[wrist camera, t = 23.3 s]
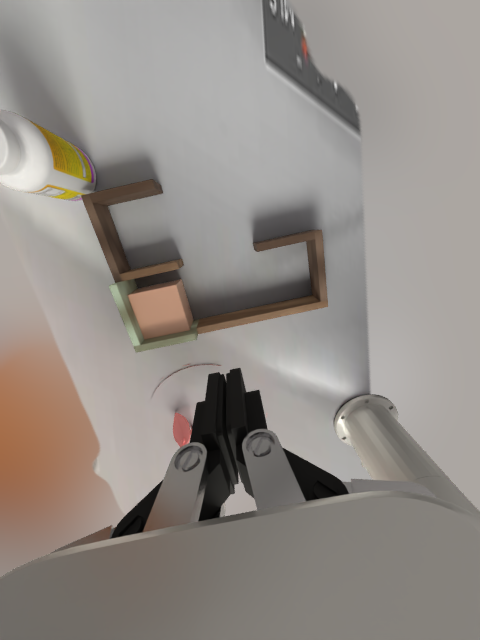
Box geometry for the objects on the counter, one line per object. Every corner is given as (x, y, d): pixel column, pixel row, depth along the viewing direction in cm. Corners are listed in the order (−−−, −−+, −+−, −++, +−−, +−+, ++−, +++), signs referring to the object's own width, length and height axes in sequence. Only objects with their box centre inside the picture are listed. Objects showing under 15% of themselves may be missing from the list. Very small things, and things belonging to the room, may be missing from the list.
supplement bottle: (60, 131, 30) (-52, 63, 18) (107, 171, 32) (34, 134, 20) (36, 177, 32) (-82, 142, 19) (82, 212, 33) (0, 202, 21)
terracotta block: (193, 319, 40) (189, 330, 36) (153, 328, 40) (144, 339, 36) (181, 278, 37) (176, 284, 33) (138, 288, 37) (127, 295, 33)
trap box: (318, 299, 39) (333, 310, 34) (148, 335, 40) (136, 352, 34) (304, 152, 32) (321, 135, 26) (97, 199, 33) (70, 193, 27)
